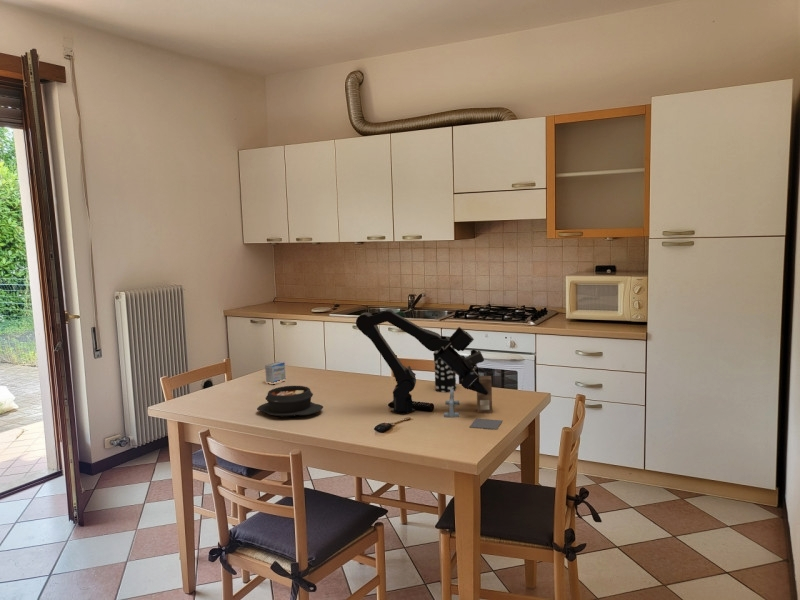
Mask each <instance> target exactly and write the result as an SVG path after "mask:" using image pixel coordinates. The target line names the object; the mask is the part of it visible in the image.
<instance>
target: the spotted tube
mask: <svg viewBox="0 0 800 600" xmlns="http://www.w3.org/2000/svg"><path fill="white" fill-rule="evenodd" d="M448 345H449V344H448ZM448 345H447V346H448ZM447 346H444V347H443V348H445V347H447ZM451 347H452V348H453V349H454V350H455V351H456V349H455V348H454V347H453V346H452V345H451ZM441 348H442V347H440V349H441ZM440 349H438V350H437V351H433V353H437V352H438V351H439V350H440ZM456 375H457V374H456V373H455V372H454V371H453V372H452V371H451V368H450V367H449V366H448V365H446V364H445V363H444V362H443V361H442V360H441V359H440V358H439V359H438V360H437V361H434V384H435V386H434V390H435V391H436V392H439V393H450V389H454V392H455V391H457V382H456V381H457V380H456V379H457V377H456Z"/></svg>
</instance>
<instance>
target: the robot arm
mask: <svg viewBox="0 0 800 600" xmlns="http://www.w3.org/2000/svg"><path fill="white" fill-rule="evenodd" d="M384 323H389V324H390V325H392V326H394V327H396V328H397V329H399V330H402V332H404V333H406V334H408V335H410V336H412V337H413V338H415V339H416V340H417V341H418V342H419V343H420V344H421V345H422V346H423V347H425V348H426V349H427V350H428V351H430V352H433V362H435V361H437V360H438V359H439V358H440V359H441V360H442V361H443V362H444V363H445V364H446V365H448V366H449V367H450V368H451V371H452V372H453V371H454V372H455V373H456V375H457V376H458V379H460V383H461V386H462V387H463V388H464V389H465V390H466V389H467V390H470V391H472V392H476V393H477V392H479V393H481V394H484V395H487V394H488V392H487V390H486V389H485V388H484V386H483V385H482V384H481V383H480V381H479V376H481V375H480V374H479V366H478V364H480V363H483V362H484V361H485V357H484V355H483V354H482V352H481V350H476V349H475V348H474V349H472V350H470V354H469V355H467V356H466V357H465V356H464V355H462V354H459V352H464V351H465V350H466V349H467V348H468V347H469V346H470V345H471V343H473V341H474V340H475V338H474V337H473V336H472V335H471V334H470V333H469V332H468V331H466V330H464V328H462V327H461V326H458V327H457V328H456V330H455V331H454V332H453V333H452V335H450V336H446V335H441V334H439V333H438V332H435V331H432V330H429V329H426V328H423V327H420V326H419V325H417V324H415V323H414V322H412V321H410V320H408V319H407V318H405V317H403V316H401V315H400V314H398V313H396V312H394V310H392V309H391V308H387V309H385V310H382V311H376V312H372V313H371V312H369V311H368V312H367V311H366V312H363V313H361V314H360V315H358V317H357V318H356V320H355V325H356V328H357V329H358V330H359V331H360V332H361V333H362V334H363V335H364V336H365V337H367V338H368V339H369V340H370V341H371V342H372V344H373V345H374V346H375V348H376V349H377V351H378V352H379V354H380V355H381V357H382V358H383V360H384V361H385V363H386V364H387V366H388V367H389V368H390V370H391V371H392V375H393V376H394V380H395V381H396V385H395V386H394V388H393V391H392V394H393V395H392V397H393V399H392V400H393V409H391V410H390V412H392V413H394V414H399V415H406V414H409V413H412V412H415V411H416V409H415V408H413V398H412V394H411V393H410V392H412V391H413V390H414V388H415V387H416V383H417V379H416V375H417V374H416V373H414V372H413V369H412V368H411V366H410V365H408V366H405V365H403V364H402V362H401V361H400V359H399V358H398V357H397V355H396V354H395V351H393V349H392V347H391V346H390V345H389V343H388V341H386V339H385V338H384V336H383V335H382V333H381V331H380V328H379V326H378V325H380V324H384ZM448 344H449V345H448ZM447 345H448V346H447ZM451 345H452V346H453V347H454V348H455V350H454V349H453V348H452V347H451ZM444 346H447V347H445V348H443V347H444ZM440 347H442V348H441V349H440ZM438 349H440V350H439V351H438V352H437V353H434V351H437V350H438Z"/></svg>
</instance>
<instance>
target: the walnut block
mask: <svg viewBox="0 0 800 600" xmlns="http://www.w3.org/2000/svg"><path fill="white" fill-rule="evenodd" d="M479 381H480V383H481V384H482V385H483V386H484V388H485V389H486V390H487V392H488V394H487V395H484V394H481V393H479V392H476V408H477V414H493V395H492V394H493V391H492V390H493V388H492V387H493V385H492V382H493V381H492V376H491V375H480V376H479Z"/></svg>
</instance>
